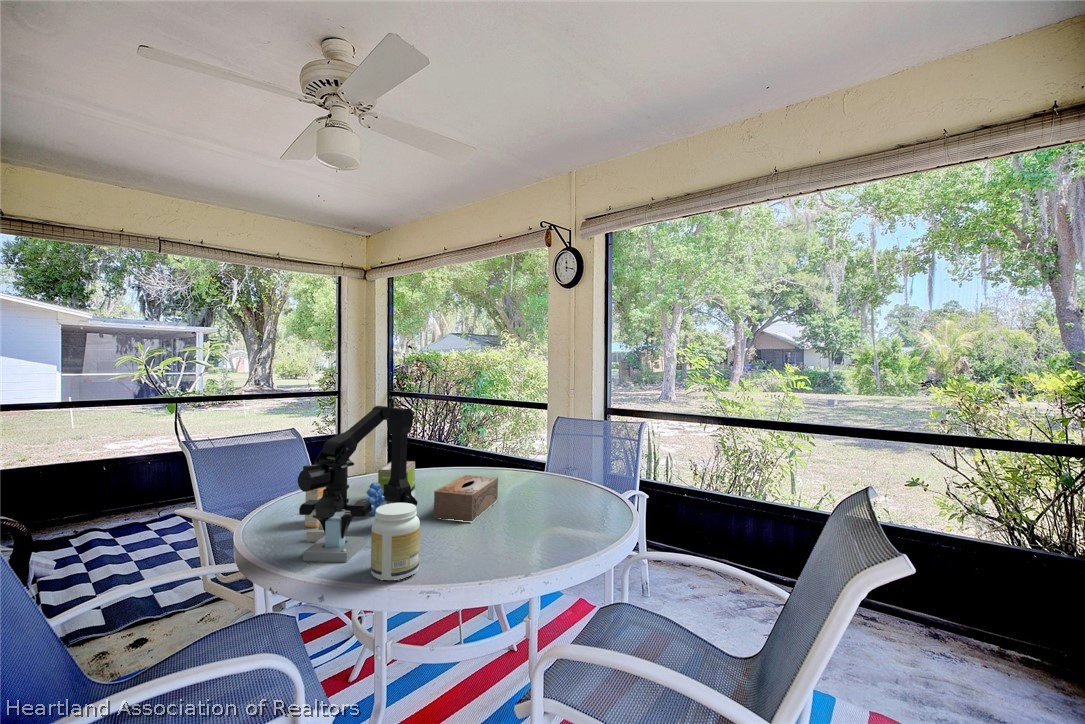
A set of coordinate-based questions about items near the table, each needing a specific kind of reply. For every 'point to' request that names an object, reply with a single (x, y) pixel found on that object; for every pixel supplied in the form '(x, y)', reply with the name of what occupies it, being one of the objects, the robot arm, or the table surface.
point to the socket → (333, 550)
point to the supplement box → (309, 519)
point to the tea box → (385, 476)
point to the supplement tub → (395, 541)
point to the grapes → (375, 496)
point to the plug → (333, 533)
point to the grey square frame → (315, 534)
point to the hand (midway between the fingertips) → (335, 537)
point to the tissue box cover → (465, 497)
